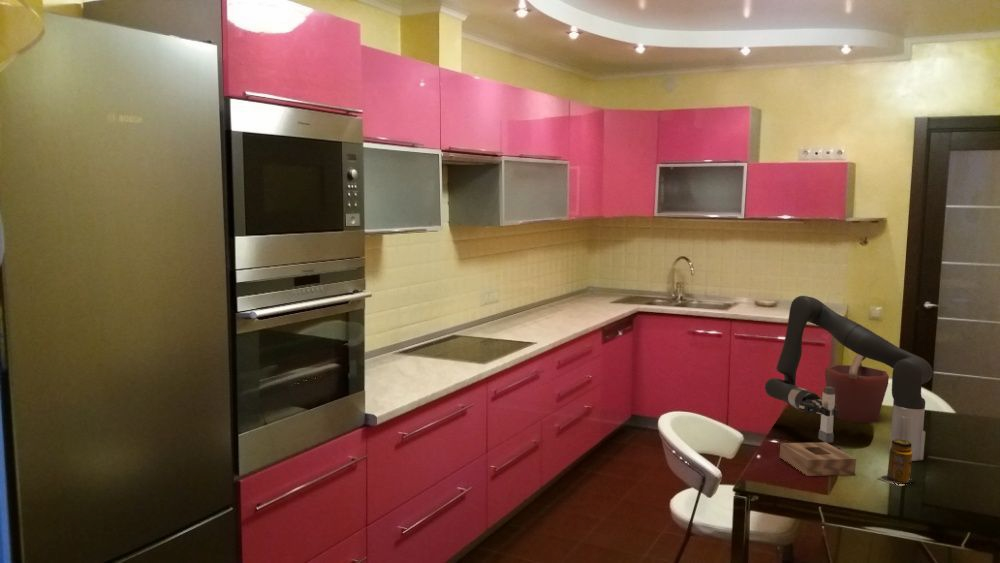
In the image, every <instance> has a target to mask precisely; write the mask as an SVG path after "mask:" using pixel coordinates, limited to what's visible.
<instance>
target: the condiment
mask: <svg viewBox="0 0 1000 563" xmlns="http://www.w3.org/2000/svg"><path fill="white" fill-rule="evenodd" d="M911 446H912V444H911V442H909V441H906V440H901V439H894V440H893V441H892V445H891V449H890V453H889V452H888V454H889V455H888V465H887V466H888V467H887V475H882V476H879V477H877V479H879V480H881V481H884V482H887V483H890V484H893V485H895V484H896V486H899V487H902V486H903V487H904V486H906V485H905V484H899V485H898V484H897V483H895V484H894V483H893V481H895V482H900V483H908V482H909V480H910V479H911V471H912V470H911V469H912V463H913V461H912V452H911V449H912V448H911Z"/></svg>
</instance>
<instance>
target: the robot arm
mask: <svg viewBox="0 0 1000 563" xmlns="http://www.w3.org/2000/svg"><path fill="white" fill-rule="evenodd" d="M807 323H810V324H813V325H815V326H817V327H819V328H821V329H823V330H825V331H826V332H828V333H829V334H830V335H831V336H832V337H833V338H834V339H835V340H837V342H838V343H839V344H841V345H842V346H844V347H845V348H847V349H849V350H850V351H852V352H854V353H855V354H856V355H857V354H859V355H861V356H864V357H866V358H865V359H870V360H873V361H876V362H879V363H882V364H883V365H886V366H889V367H890V368H891V369H892V374H891V375H892V376H891V378H892V379H891V397H892V399H893V402H892V403H893V405H892V414H891V427H890V439H889V447H888V450H889V451H888V454H889V453H890V449H891V445H892V441H893V440H894V439H901V440H906V441H909V442H911V444H912V446H911V448H912V449H911V452H912V462H913V461H914V462H915V461H923V460H924V455H925V454H924V452H925V443H926V431H925V430H924V421H925V410H926V399H925V398H924V397H922V396H923V395H922V385H924V384H926V383H928V382H929V381H930V380H931V379H932V377H933V372H934V371H933V368H932V366H931V364H930V363H929V362H928V361H927V360H926V359H924V358H923V357H920V356H918V355H916V354H915V353H911V352H910V351H907V350H904V349H903V348H901V347H898V346H896V345H895V344H893V343H891V342H890V341H889V340H887V339H885V338H883V337H882V336H880V335H878V334H877V333H876V332H874V331H872V330H870V329H869V328H867V327H865V326H863V325H862V324H859V323H857V322H856V321H854V320H852V319H850V318H848V317H845V316H843V315H841V314H839V313H837V312H836V311H835V310H833V309H831V308H830V307H828V306H827V305H826V304H824V303H823V302H822V301H820V300H819V299H817V298H816V297H812V296H807V295H799V296H796V297H795V298H794V299H793V300H792V301H791V303H790V307H789V313H788V320H787V327H786V331H785V332H786V333H785V337H784V342H783V345H782V349H781V352H780V355H779V358H778V361H777V365H776V371H777V372H778V373H780V374H782V375H783V376H784V379H779V378H775V377H773V378H770V379H767V381H766V382H765V383H764V390H765V393H766V394H767V395H768V396H769V397H771V398H773V399H777V400H780V401H782V402H785V403H787V404H788V405H791V406H792V407H793V408H795V409H797V410H799V411H801V412H804V413H805V414H808V415H811V414H812V415H814V414H815V415H816V414H819V415H821V414H823V415H825V416H830V410H829V409H826V408H824V407H822V398H821V397H820V396H819V395H818V394H817V393H815V392H813V391H810V390H808V389H806V388H804V387H803V388H802V387H800V386H797V385H796V379H797V371H798V368H799V365H800V362H801V358H802V352H803V335H804V330H805V327H806V326H807ZM835 416H838V410H837V409H836V404H834V417H835Z"/></svg>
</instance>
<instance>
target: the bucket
mask: <svg viewBox="0 0 1000 563" xmlns="http://www.w3.org/2000/svg"><path fill="white" fill-rule="evenodd" d="M866 359H867V358H866V357H864V356H861V355H859V354H857V353H856V355H855V356H854V358H853V359H852V363H851V365H850V364H849V365H847V364H846V365H845V364H833V365H830V366H826V367H825V371H824V378H825V385H826V386H825V387H833V388H835V391H834V394H835V404H836V409H837V410H838V416H834V417H835V418H836V419H839V420H841V421H848V422H854V423H858V422H859V423H858V424H863V423H864V424H865V423H866V422H867V423H877V421H878V419H879V415H880V412H881V410H882V405H883V403H884V399H885V396H886V392H887V389H888V387H889V379H890V378H889V377H890V376H889V374H888V373H887V371H886V370H882V369H877V368H873V367H868V366H863V363H862V362H863V361H865V360H866Z"/></svg>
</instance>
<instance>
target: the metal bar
mask: <svg viewBox="0 0 1000 563" xmlns="http://www.w3.org/2000/svg"><path fill="white" fill-rule="evenodd" d="M834 391H835V388H833V387H827V386H823V392H822V398H821V400H822V407H824V408H826V409H829V410H830V416H825V415H823V414H820V426H819V428H820V429H818V439H819V440H821V441H822V442H826V443H828V444H829V443H834V438H835V436H834V435H835V434H834V430H833V429H834V417H835V416H834V404H835V394H834Z"/></svg>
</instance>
